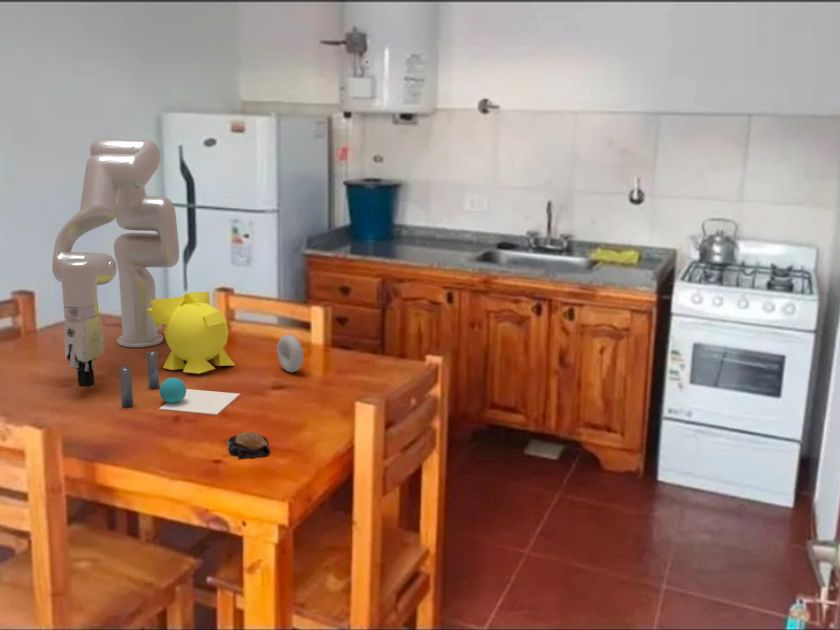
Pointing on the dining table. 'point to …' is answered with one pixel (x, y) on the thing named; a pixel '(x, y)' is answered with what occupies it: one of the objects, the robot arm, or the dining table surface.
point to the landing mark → (202, 402)
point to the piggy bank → (192, 332)
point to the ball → (172, 390)
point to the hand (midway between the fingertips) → (86, 385)
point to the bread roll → (248, 446)
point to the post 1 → (126, 387)
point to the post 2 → (153, 370)
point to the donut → (290, 353)
